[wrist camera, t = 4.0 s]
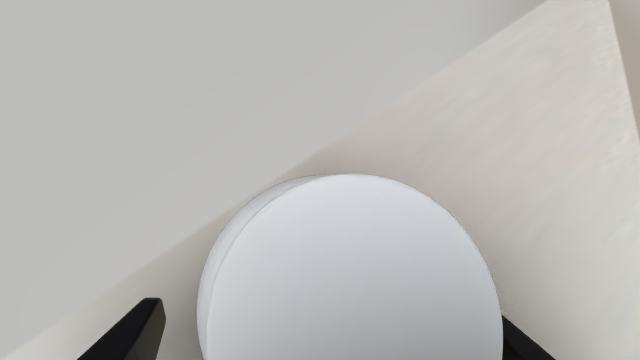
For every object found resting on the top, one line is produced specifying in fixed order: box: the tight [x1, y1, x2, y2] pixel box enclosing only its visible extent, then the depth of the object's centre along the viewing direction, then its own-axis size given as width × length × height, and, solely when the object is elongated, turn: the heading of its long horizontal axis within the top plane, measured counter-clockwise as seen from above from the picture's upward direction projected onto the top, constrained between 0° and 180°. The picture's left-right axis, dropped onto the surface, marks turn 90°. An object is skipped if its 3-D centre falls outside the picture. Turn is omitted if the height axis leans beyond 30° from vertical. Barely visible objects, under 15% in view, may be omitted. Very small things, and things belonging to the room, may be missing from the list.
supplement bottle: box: [196, 173, 503, 360], centre depth 11 cm, size 7×7×13 cm
